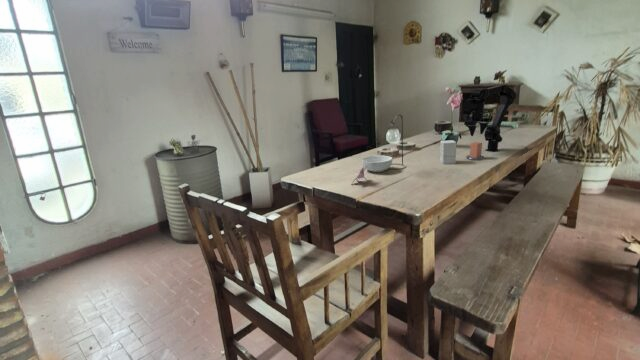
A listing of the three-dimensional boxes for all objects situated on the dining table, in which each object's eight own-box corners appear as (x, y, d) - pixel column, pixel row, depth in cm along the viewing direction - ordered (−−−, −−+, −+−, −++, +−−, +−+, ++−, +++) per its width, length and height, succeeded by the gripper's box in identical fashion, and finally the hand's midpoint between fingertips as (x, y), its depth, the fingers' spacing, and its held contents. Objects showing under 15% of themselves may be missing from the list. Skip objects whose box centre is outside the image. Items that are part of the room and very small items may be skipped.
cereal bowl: (374, 165, 203) (374, 153, 201) (398, 169, 192) (398, 157, 190) (356, 171, 192) (356, 159, 190) (380, 176, 181) (380, 163, 179)
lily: (367, 180, 179) (357, 165, 178) (381, 176, 169) (371, 160, 168) (352, 192, 173) (342, 176, 172) (366, 189, 163) (356, 172, 162)
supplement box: (452, 160, 202) (453, 139, 199) (455, 163, 195) (456, 142, 192) (439, 161, 203) (440, 140, 200) (442, 164, 196) (443, 142, 193)
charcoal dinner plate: (473, 155, 211) (473, 154, 211) (487, 158, 203) (488, 156, 202) (462, 158, 206) (462, 156, 206) (477, 161, 198) (477, 159, 198)
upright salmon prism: (474, 155, 207) (475, 141, 205) (481, 156, 203) (482, 142, 201) (469, 156, 205) (470, 142, 202) (476, 158, 201) (477, 143, 199)
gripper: (476, 107, 218) (474, 131, 223) (457, 110, 209) (455, 135, 214) (492, 108, 209) (490, 133, 213) (473, 111, 200) (471, 137, 204)
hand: (476, 135), depth 211 cm, fingers open, 9 cm apart
